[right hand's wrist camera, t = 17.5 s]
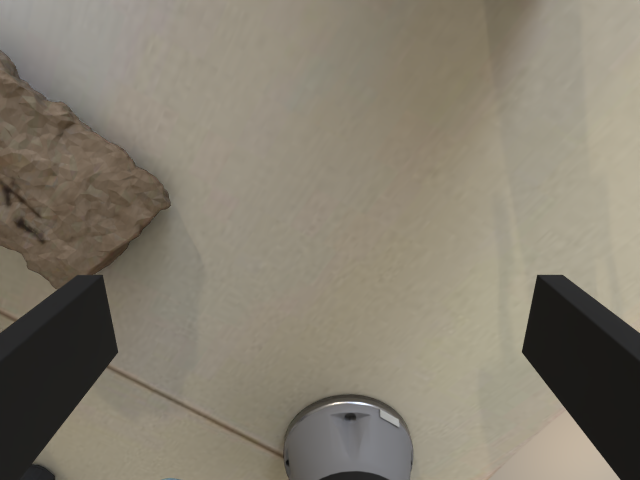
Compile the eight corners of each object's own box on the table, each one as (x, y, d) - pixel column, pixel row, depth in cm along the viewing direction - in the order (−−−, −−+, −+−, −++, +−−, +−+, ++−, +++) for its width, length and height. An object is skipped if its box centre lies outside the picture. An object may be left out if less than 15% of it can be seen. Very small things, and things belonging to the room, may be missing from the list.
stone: (-143, 141, 34) (-208, 147, 28) (-21, 12, 34) (-63, -7, 28) (83, 289, 42) (66, 316, 37) (182, 187, 42) (180, 199, 37)
